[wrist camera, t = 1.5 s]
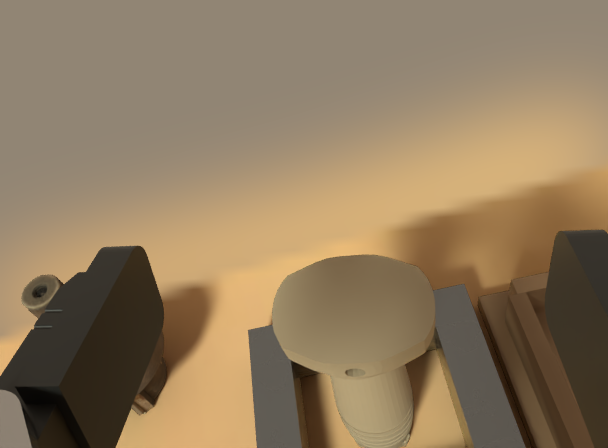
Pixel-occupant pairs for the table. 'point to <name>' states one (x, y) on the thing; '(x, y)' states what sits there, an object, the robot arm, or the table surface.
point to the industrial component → (155, 375)
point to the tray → (534, 364)
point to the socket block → (446, 340)
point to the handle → (360, 337)
